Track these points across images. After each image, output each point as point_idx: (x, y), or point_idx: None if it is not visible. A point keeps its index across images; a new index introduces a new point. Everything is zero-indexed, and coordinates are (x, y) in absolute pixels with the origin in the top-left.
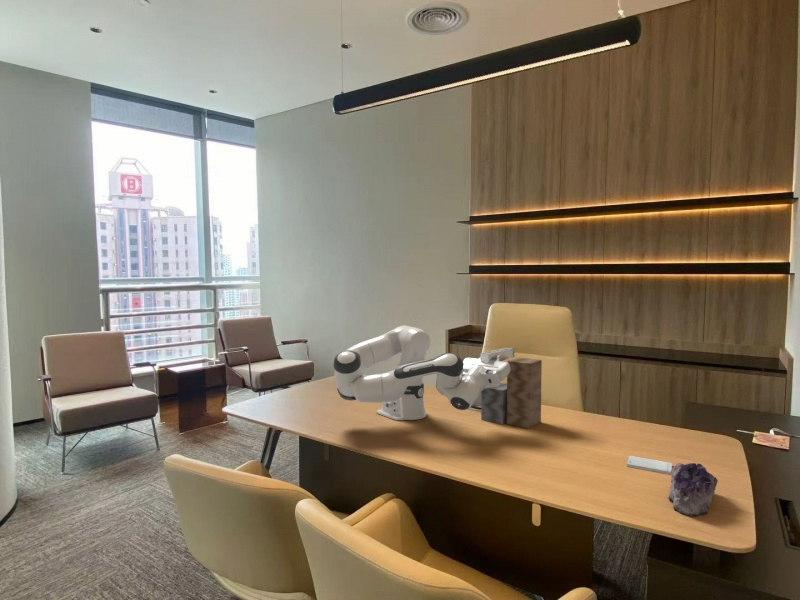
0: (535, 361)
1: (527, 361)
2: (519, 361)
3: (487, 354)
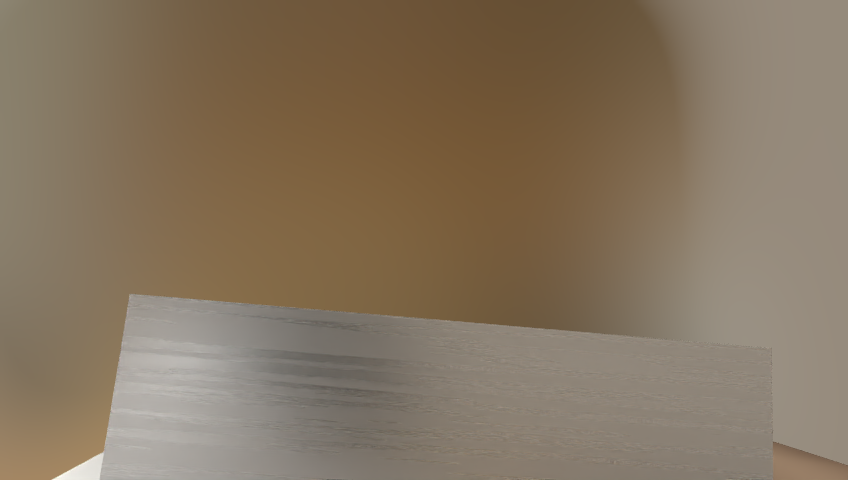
0: (803, 455)
1: (776, 465)
2: None
3: (666, 343)
